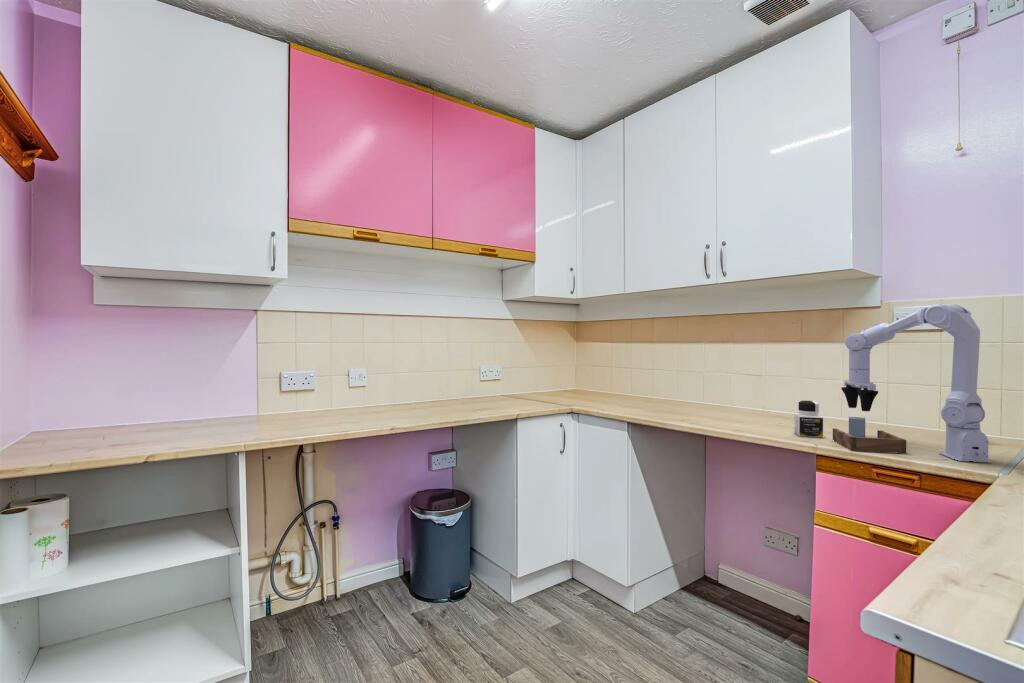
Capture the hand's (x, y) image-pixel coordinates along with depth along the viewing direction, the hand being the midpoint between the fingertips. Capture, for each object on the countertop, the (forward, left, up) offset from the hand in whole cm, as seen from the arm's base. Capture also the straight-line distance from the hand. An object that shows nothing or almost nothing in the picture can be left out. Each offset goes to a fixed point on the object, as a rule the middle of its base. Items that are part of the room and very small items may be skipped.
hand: (859, 409), depth 164 cm
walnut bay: (-13, +3, -10) cm, 16 cm away
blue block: (0, +1, -10) cm, 10 cm away
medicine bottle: (+2, +15, -10) cm, 18 cm away
